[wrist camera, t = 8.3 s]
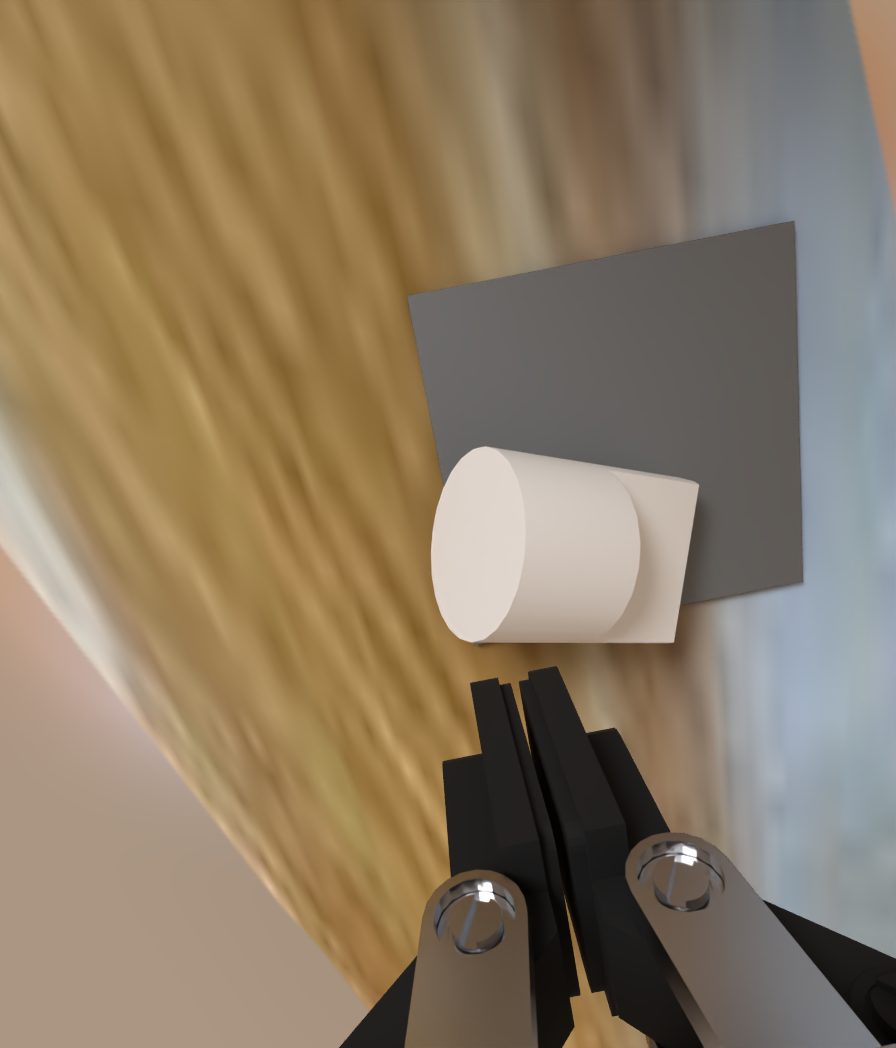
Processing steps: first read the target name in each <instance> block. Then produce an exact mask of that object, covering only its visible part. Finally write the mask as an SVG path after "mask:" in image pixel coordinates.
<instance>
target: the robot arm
mask: <svg viewBox="0 0 896 1048" xmlns="http://www.w3.org/2000/svg"><path fill="white" fill-rule="evenodd" d="M528 676H529V680H523V681H519V686H520V692H521V698H522V704H523V710H524V716H525V721H526V727H527V733H528V739H529V745H530V750H531V754H530V750H529V747H528V743H527V740H526V736H525V733H524V729H523V726H522V722H521V719H520V715H519V712H518V708H517V704H516V701H515V697H514V694H513V690H512V687H511V684H510V683H508V684H503V685H500V684H499V681H498V678H493V679H488V680H483V681H478V682H473V683H470V686H471V692H472V697H473V703H474V709H475V715H476V721H477V726H478V732H479V738H480V744H481V750H482V754H477V755H472V756H467V757H462V758H457V759H452V760H447V761H443V780H444V793H445V806H446V819H447V832H448V845H449V858H450V871H451V878H449V879H447V880H446V881H445V882H444V883H443V884H442V885H440V886H439V887H438V888H437V889H436V890H435V891H434V893H433V894H432V896H431V897H430V899H429V900H428V902H427V904H426V907H425V911H424V914H423V917H422V924H421V932H420V939H419V946H418V953H417V956H416V958H415V959H414V960H413V961H412V962H411V964H410V965H409V966H408V967H407V968H406V969H405V971H404V972H403V973H402V974H401V975H400V977H399V978H398V979H397V980H396V981H395V982H394V984H393V985H392V986H391V987H390V988H389V989H388V991H387V992H386V993H385V994H384V995H383V997H382V998H381V999H380V1000H379V1001H378V1002H377V1004H376V1005H375V1006H374V1007H373V1008H372V1010H371V1011H370V1012H369V1013H368V1014H367V1016H366V1017H365V1018H364V1019H363V1020H362V1021H361V1023H360V1024H359V1025H358V1026H357V1027H356V1028H355V1030H354V1031H353V1032H352V1033H351V1034H350V1036H349V1037H348V1038H347V1039H346V1040H345V1041H344V1043H343V1044H342V1045H341V1046H340V1047H339V1048H562V1047H563V1045H564V1043H565V1042H566V1040H567V1038H568V1037H569V1035H570V1033H571V1031H572V1030H573V1028H574V1021H573V1015H572V1009H571V1003H570V998H569V997H574V996H579V995H580V988H579V982H578V976H577V970H576V964H575V958H574V952H573V946H572V940H571V934H570V928H569V922H568V916H567V910H566V904H565V899H566V903H567V906H568V910H569V913H570V917H571V921H572V924H573V928H574V932H575V935H576V939H577V943H578V946H579V950H580V954H581V957H582V961H583V965H584V968H585V972H586V976H587V979H588V983H589V986H590V989H591V992H592V993H594V992H599V991H605V994H606V997H607V1001H608V1004H609V1007H610V1011H611V1014H612V1017H613V1016H618V1015H619V1018H621V1019H622V1020H624V1021H625V1022H627V1023H628V1024H630V1025H631V1026H633V1027H634V1028H636V1029H637V1030H639V1031H640V1032H642V1033H643V1034H645V1035H646V1041H647V1044H648V1047H649V1048H896V959H895V958H893V957H891V956H888V955H886V954H884V953H882V952H879V951H877V950H875V949H873V948H870V947H868V946H866V945H864V944H861V943H859V942H857V941H855V940H852V939H850V938H848V937H846V936H843V935H841V934H839V933H837V932H834V931H832V930H830V929H828V928H825V927H823V926H821V925H819V924H816V923H814V922H812V921H810V920H807V919H805V918H803V917H801V916H798V915H796V914H794V913H792V912H789V911H787V910H785V909H783V908H780V907H778V906H776V905H774V904H771V903H769V902H767V901H764V900H762V899H761V898H760V897H759V895H758V894H757V893H756V892H755V890H754V889H753V888H752V887H751V886H750V884H749V883H748V882H747V881H746V879H745V878H744V877H743V876H742V875H741V873H740V872H739V871H738V870H737V868H736V867H735V866H734V865H733V863H732V862H731V861H730V860H729V859H728V857H727V856H725V855H724V854H723V853H722V852H721V851H720V850H719V849H718V848H717V847H716V846H714V845H712V844H711V843H709V842H707V841H705V840H703V839H702V838H699V837H696V836H692V835H689V834H685V833H672V832H670V830H669V828H668V826H667V824H666V822H665V820H664V818H663V817H662V815H661V813H660V811H659V809H658V807H657V805H656V803H655V801H654V799H653V797H652V795H651V793H650V791H649V790H648V788H647V786H646V784H645V782H644V780H643V778H642V776H641V774H640V772H639V770H638V768H637V766H636V764H635V763H634V761H633V759H632V757H631V755H630V753H629V751H628V749H627V747H626V745H625V743H624V741H623V739H622V737H621V736H620V734H619V732H618V731H617V729H615V728H610V729H605V730H600V731H595V732H590V733H586V732H585V730H584V727H583V725H582V723H581V720H580V718H579V716H578V713H577V711H576V709H575V707H574V704H573V702H572V700H571V697H570V695H569V693H568V691H567V688H566V686H565V684H564V681H563V679H562V677H561V675H560V672H559V670H558V668H557V667H556V666H555V667H549V668H544V669H539V670H534V671H529V672H528ZM531 756H532V757H531ZM564 895H565V898H564Z"/></svg>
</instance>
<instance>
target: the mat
mask: <svg viewBox="0 0 896 1048" xmlns="http://www.w3.org/2000/svg"><path fill="white" fill-rule="evenodd" d="M407 298H408V303H409V308H410V314H411V319H412V324H413V329H414V334H415V340H416V345H417V350H418V355H419V360H420V365H421V371H422V376H423V381H424V386H425V391H426V397H427V402H428V407H429V412H430V417H431V423H432V428H433V433H434V438H435V443H436V448H437V454H438V459H439V464H440V469H441V474H442V480H443V485H444V486H445V484H446V482H447V480H448V478H449V476H450V474H451V472H452V470H453V469H454V467H455V466H456V465H457V463H458V462H459V461H460V459H461V458H462V457H463V456H465V455H466V454H467V453H469V452H470V451H471V450H473V449H476V448H480V447H484V446H487V447H493V448H499V449H505V450H512V451H518V452H524V453H530V454H536V455H543V456H549V457H555V458H561V459H567V460H574V461H580V462H586V463H592V464H599V465H605V466H611V467H617V468H623V469H630V470H636V471H642V472H648V473H654V474H661V475H667V476H673V477H679V478H683V479H687V480H691V481H695V482H696V483H698V484H699V489H698V495H697V501H696V507H695V514H694V520H693V526H692V532H691V539H690V545H689V551H688V557H687V564H686V570H685V576H684V582H683V588H682V595H681V601H680V605H684V604H690V603H695V602H700V601H705V600H710V599H715V598H721V597H726V596H731V595H736V594H741V593H746V592H751V591H757V590H762V589H767V588H772V587H777V586H782V585H787V584H793V583H798V582H803V566H802V523H801V481H800V438H799V396H798V353H797V311H796V268H795V226H794V221H791V222H786V223H780V224H775V225H770V226H765V227H760V228H755V229H750V230H744V231H739V232H734V233H729V234H724V235H719V236H714V237H708V238H703V239H698V240H693V241H688V242H683V243H678V244H672V245H667V246H662V247H657V248H652V249H647V250H642V251H636V252H631V253H626V254H621V255H616V256H611V257H606V258H600V259H595V260H590V261H585V262H580V263H575V264H570V265H564V266H559V267H554V268H549V269H544V270H539V271H534V272H528V273H523V274H518V275H513V276H508V277H503V278H498V279H492V280H487V281H482V282H477V283H472V284H467V285H462V286H456V287H451V288H446V289H441V290H436V291H431V292H426V293H420V294H415V295H410V296H407ZM484 643H489V642H474V645H479V644H484Z"/></svg>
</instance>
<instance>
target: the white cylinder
mask: <svg viewBox="0 0 896 1048" xmlns="http://www.w3.org/2000/svg"><path fill="white" fill-rule="evenodd" d="M698 489H699V484H698V483H696V482H695V481H691V480H687V479H683V478H679V477H673V476H667V475H661V474H654V473H648V472H642V471H636V470H630V469H623V468H617V467H611V466H605V465H599V464H592V463H586V462H580V461H574V460H567V459H561V458H555V457H549V456H543V455H536V454H530V453H524V452H518V451H512V450H505V449H499V448H493V447H487V446H484V447H480V448H476V449H473V450H471V451H470V452H469V453H467V454H466V455H465V456H463V457H462V458H461V459H460V461H459V462H458V463H457V465H456V466H455V467H454V469H453V470H452V472H451V474H450V476H449V478H448V480H447V482H446V484H445V486H444V488H443V491H442V494H441V497H440V500H439V504H438V507H437V510H436V516H435V521H434V527H433V534H432V547H431V565H432V579H433V585H434V591H435V597H436V600H437V603H438V606H439V609H440V612H441V615H442V617H443V618H444V620H445V622H446V624H447V626H448V627H449V629H450V630H451V631H452V632H453V633H454V634H455V635H456V636H457V637H458V638H460V639H463V640H466V641H468V642H496V643H674V638H675V632H676V626H677V620H678V613H679V607H680V601H681V595H682V588H683V582H684V576H685V570H686V564H687V557H688V551H689V545H690V539H691V532H692V526H693V520H694V514H695V507H696V501H697V495H698Z"/></svg>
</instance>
